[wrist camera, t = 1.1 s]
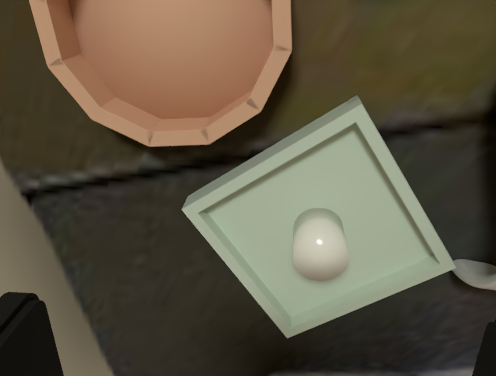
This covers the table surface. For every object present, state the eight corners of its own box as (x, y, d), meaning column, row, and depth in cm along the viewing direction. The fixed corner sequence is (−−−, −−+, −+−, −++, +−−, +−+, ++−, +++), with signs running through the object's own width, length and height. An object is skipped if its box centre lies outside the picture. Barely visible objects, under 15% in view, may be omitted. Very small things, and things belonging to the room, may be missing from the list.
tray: (357, 95, 33) (361, 103, 31) (447, 251, 39) (456, 267, 36) (188, 196, 39) (181, 209, 36) (287, 319, 44) (287, 338, 42)
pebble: (327, 199, 36) (331, 226, 32) (352, 236, 38) (359, 266, 34) (283, 222, 38) (282, 250, 34) (309, 257, 39) (310, 288, 35)
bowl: (195, -193, 26) (180, -219, 23) (335, 51, 32) (340, 61, 28) (14, -17, 32) (-21, -16, 28) (160, 164, 38) (146, 184, 34)
